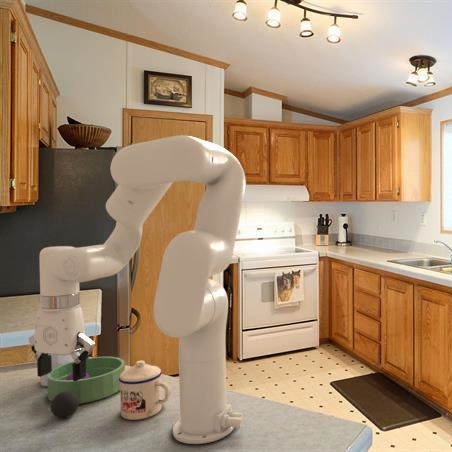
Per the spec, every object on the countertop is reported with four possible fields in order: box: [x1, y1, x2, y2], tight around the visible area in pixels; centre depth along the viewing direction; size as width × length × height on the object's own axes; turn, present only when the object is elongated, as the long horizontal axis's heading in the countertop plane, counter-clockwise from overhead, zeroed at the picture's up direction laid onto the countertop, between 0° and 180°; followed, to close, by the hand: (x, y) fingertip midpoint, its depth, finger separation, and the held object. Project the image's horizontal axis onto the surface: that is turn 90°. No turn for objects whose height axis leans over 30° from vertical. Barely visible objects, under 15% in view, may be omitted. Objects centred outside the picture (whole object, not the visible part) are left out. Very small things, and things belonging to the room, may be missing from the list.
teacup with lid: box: [119, 360, 171, 421], centre depth 99 cm, size 12×9×12 cm
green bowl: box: [46, 356, 126, 405], centre depth 111 cm, size 18×18×6 cm
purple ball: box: [66, 373, 90, 380], centre depth 108 cm, size 6×6×6 cm
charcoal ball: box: [49, 391, 80, 419], centre depth 97 cm, size 6×6×6 cm
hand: (62, 376), depth 97 cm, fingers open, 9 cm apart
